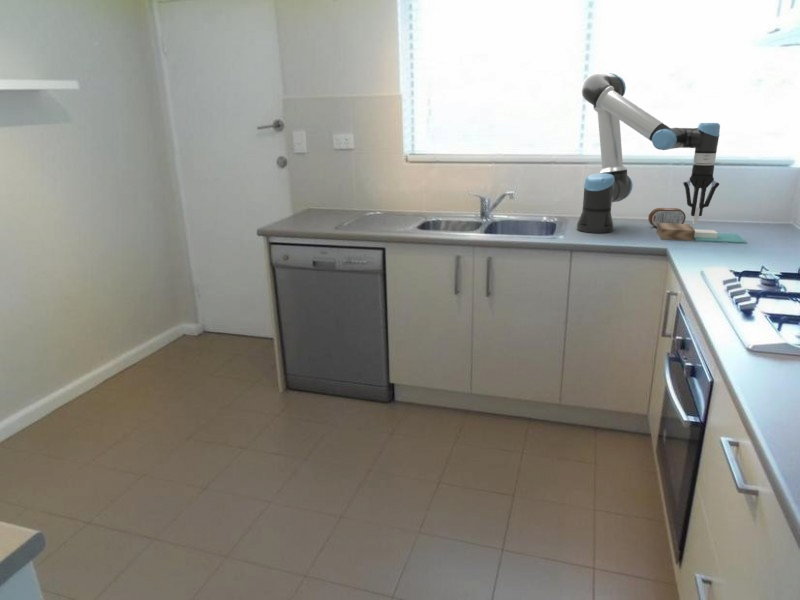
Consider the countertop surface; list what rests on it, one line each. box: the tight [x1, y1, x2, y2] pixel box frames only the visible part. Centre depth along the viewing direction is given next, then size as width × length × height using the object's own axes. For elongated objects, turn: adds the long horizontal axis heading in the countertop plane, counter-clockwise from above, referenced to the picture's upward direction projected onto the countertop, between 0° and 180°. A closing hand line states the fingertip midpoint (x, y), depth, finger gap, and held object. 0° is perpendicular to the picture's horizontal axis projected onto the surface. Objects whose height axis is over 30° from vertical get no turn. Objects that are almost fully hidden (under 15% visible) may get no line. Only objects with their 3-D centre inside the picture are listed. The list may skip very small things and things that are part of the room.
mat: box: [694, 232, 748, 244], centre depth 230 cm, size 18×16×1 cm
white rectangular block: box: [693, 228, 719, 238], centre depth 231 cm, size 9×6×2 cm, turn 73°
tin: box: [648, 207, 686, 228], centre depth 251 cm, size 15×3×8 cm, turn 84°
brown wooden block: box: [656, 223, 695, 241], centre depth 234 cm, size 12×14×4 cm
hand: (694, 224), depth 231 cm, fingers closed
